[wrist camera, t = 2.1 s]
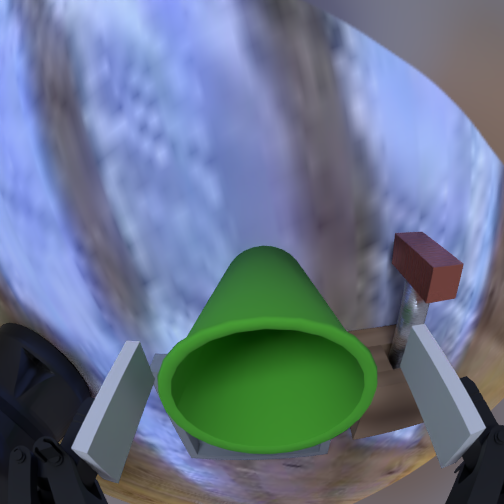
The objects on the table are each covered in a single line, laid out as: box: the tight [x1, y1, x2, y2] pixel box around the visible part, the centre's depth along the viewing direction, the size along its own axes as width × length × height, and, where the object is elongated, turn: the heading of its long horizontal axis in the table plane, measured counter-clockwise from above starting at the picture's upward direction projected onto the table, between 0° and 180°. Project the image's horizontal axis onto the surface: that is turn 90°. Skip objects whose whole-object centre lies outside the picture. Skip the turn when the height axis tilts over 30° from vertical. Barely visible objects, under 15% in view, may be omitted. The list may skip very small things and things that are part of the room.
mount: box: [348, 324, 454, 440], centre depth 21 cm, size 7×7×6 cm
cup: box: [157, 246, 378, 454], centre depth 16 cm, size 9×9×11 cm
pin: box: [388, 232, 463, 369], centre depth 17 cm, size 10×2×5 cm, turn 5°
